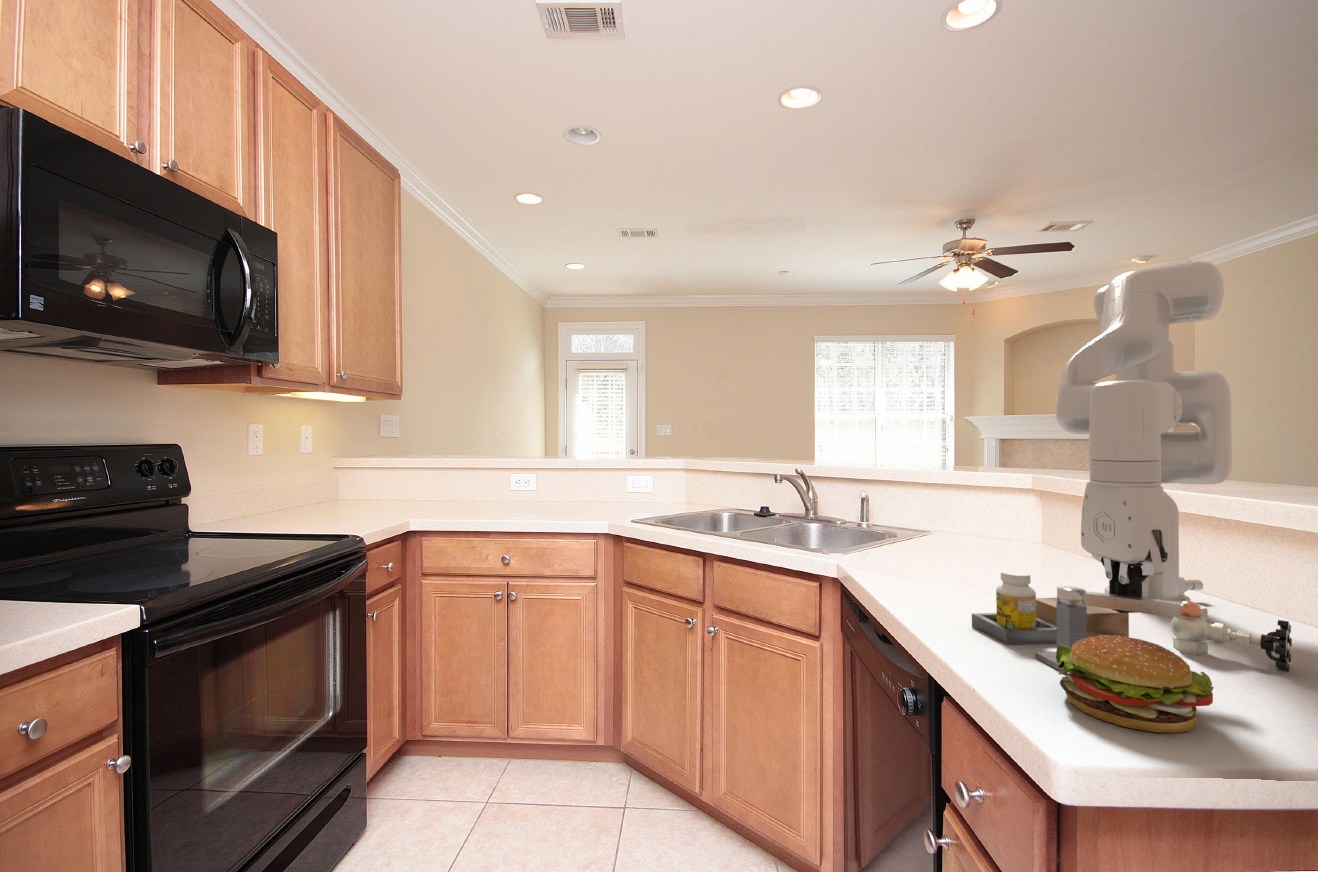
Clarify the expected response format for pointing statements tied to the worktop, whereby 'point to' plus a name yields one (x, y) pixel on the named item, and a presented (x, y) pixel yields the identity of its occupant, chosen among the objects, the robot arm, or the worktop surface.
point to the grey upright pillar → (1066, 631)
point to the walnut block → (1088, 618)
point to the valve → (1230, 638)
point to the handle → (1127, 603)
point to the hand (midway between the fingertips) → (1125, 610)
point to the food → (1133, 683)
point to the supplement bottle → (1016, 601)
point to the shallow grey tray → (1015, 630)
